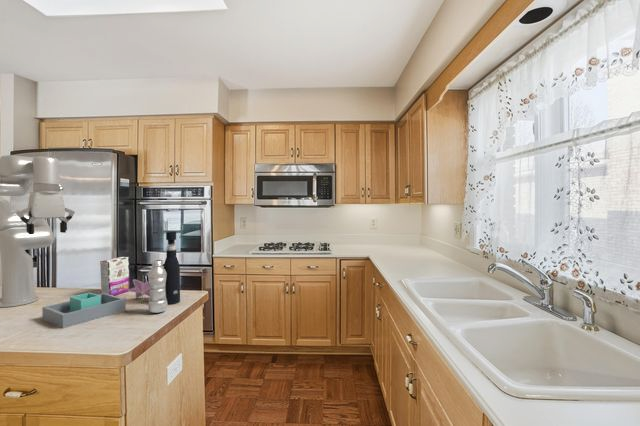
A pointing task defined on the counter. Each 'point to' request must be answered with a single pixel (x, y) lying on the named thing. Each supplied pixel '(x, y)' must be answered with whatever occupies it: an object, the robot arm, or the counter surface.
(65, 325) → the gray crate
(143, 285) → the lily
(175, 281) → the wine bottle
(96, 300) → the teal crate
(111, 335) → the counter surface
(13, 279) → the robot arm
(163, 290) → the silver ribbed bottle
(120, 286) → the candy bar box
